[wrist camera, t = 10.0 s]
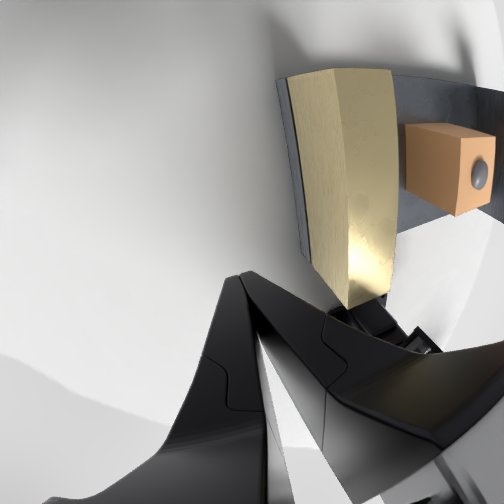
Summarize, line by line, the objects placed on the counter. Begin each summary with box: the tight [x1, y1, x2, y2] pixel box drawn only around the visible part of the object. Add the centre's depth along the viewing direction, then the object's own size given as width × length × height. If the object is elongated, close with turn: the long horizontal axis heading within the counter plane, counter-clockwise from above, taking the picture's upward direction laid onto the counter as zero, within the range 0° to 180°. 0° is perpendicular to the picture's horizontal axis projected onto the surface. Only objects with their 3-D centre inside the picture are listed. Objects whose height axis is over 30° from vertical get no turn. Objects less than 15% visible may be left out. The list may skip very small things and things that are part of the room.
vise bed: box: [276, 75, 504, 263], centre depth 16 cm, size 12×22×7 cm, turn 101°
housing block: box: [405, 123, 496, 217], centre depth 15 cm, size 5×5×5 cm
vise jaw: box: [287, 68, 399, 310], centre depth 14 cm, size 12×3×5 cm, turn 11°
